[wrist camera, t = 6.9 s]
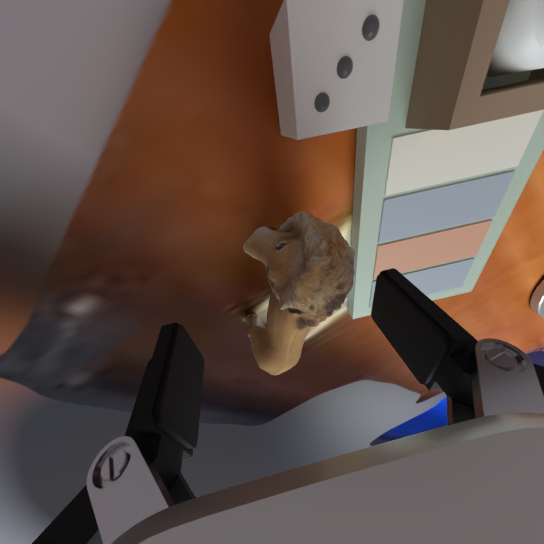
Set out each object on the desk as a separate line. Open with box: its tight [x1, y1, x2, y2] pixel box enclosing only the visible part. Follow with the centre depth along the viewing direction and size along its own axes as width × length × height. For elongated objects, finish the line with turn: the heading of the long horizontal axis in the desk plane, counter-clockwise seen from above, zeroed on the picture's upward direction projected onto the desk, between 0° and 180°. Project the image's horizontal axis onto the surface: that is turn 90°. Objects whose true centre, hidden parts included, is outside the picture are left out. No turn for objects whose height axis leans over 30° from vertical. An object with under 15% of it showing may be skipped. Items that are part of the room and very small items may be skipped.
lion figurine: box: [243, 211, 355, 375], centre depth 14 cm, size 15×5×9 cm, turn 177°
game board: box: [347, 0, 544, 319], centre depth 13 cm, size 12×24×4 cm, turn 10°
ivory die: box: [269, 0, 404, 140], centre depth 10 cm, size 4×4×4 cm
